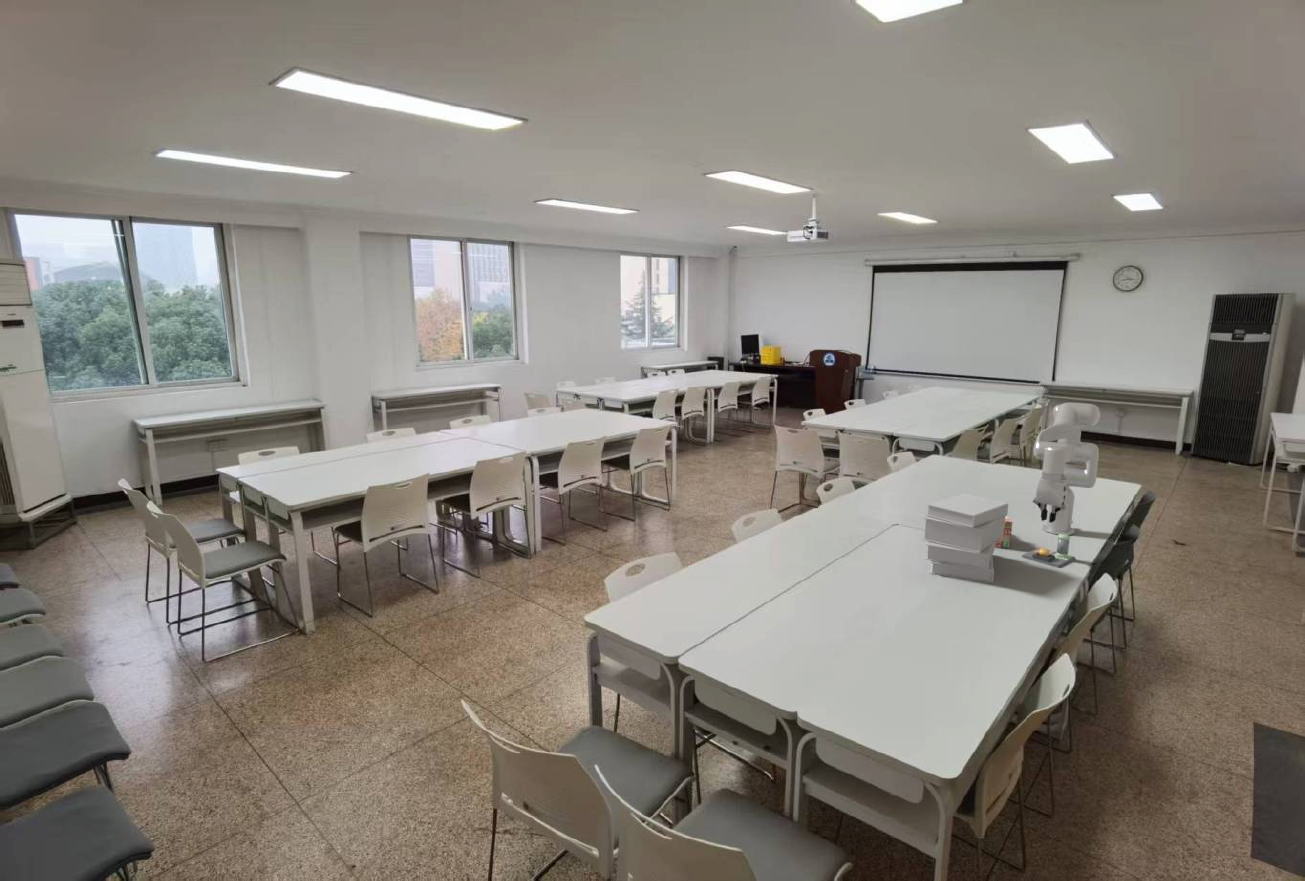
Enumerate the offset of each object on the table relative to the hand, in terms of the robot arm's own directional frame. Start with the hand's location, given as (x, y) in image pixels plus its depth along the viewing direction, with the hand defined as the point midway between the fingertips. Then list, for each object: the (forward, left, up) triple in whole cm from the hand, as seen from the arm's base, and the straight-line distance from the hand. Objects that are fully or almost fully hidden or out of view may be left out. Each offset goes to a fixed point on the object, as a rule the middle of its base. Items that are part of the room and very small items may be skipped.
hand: (1047, 520), depth 264 cm
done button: (0, 0, -15) cm, 15 cm away
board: (-5, 0, -17) cm, 18 cm away
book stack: (+30, -18, -18) cm, 39 cm away
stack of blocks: (-9, -25, -18) cm, 32 cm away
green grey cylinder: (-8, +4, -16) cm, 18 cm away
